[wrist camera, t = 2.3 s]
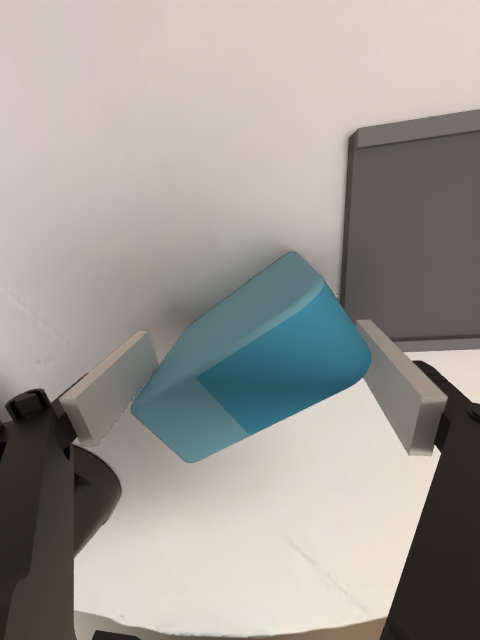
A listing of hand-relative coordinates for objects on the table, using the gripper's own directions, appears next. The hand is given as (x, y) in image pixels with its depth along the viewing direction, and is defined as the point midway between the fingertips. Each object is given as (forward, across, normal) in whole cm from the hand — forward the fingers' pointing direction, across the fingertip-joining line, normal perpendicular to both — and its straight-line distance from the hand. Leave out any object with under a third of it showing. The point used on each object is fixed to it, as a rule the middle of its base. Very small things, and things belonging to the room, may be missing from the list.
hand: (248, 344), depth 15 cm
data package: (+7, 0, 0) cm, 7 cm away
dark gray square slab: (+7, +16, +4) cm, 18 cm away
